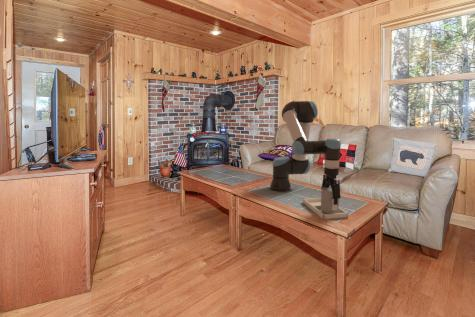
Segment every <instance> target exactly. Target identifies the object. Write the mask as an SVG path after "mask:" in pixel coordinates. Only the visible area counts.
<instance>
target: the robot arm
mask: <svg viewBox="0 0 475 317" xmlns="http://www.w3.org/2000/svg"><path fill="white" fill-rule="evenodd" d="M318 115H319V112H318V106H317V103H315V101H309V100H304V101H303V100H301V101H300V100H299V101H298V100H297V101H296V100H295V101H294V100H293V101H289V102H288V103H286V104H285V105H284V106H283V108H282V110H281V118H282V120H283V122H284V123H285V124H286V127H287V129H288V131H289V134H290V136H291V138H292V141H293V142H292V144H291V150H292V153H293V154H292V156H291V158H290V157H288V156H279V157H275V158H274V159H273V161H272V180H271V182H270V185H269V186H270V187H269V188H270V189H271V190H272V191H276V192H287V191H291V189H292V185H291V181H290V179H289V178H290V176H292V175H306V174H307V173H309V172H310V169H311V160H310V158H309V156H307V155H324V163H323V164H324V166H323V167H324V168H323V170H324V172H323V176H322V183H321V188H320V189H321V191H322V187H325V188H326V187H331V189H332V191H333V198H332V210H337V203H338V199H339V200H340V199H341V186H340V184H341V180H340V179H337V176H338V175H340V174H339V173H340V168H339V167H340V156H341V155H340V154H341V140H340V139H339V138H326V140H325V139H320V140H309V138H310V131H311V124H312V123H314V119H317V117H318Z"/></svg>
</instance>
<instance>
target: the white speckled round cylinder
mask: <svg viewBox="0 0 475 317" xmlns="http://www.w3.org/2000/svg"><path fill="white" fill-rule="evenodd" d="M321 188H322V190H321V196H320V198H321V211H323V212H325V213H338V212H339V207H340V199H338V203H337V210H332V198H333V191H332V189H331V186H330V187H326V188H325V187H322V186H321Z"/></svg>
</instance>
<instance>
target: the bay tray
mask: <svg viewBox="0 0 475 317" xmlns="http://www.w3.org/2000/svg"><path fill="white" fill-rule="evenodd" d="M302 203H303V204H304V205H305V206H306V207H308V208H309V209H310V210H311V211H313V213H315V214H316V215H318V216H319V218H321V219H322V220H335V219H348V218H349V213H348V211H346V210H344V209H342V208H341V207H340V206H339V212H338V213H325V212H323V211H321V197H313V198H303V199H302Z"/></svg>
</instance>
